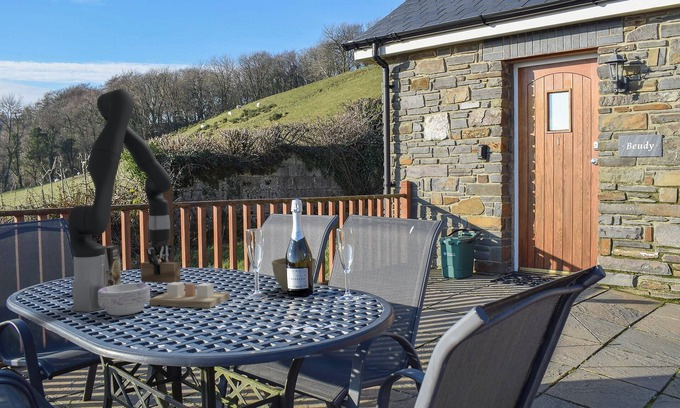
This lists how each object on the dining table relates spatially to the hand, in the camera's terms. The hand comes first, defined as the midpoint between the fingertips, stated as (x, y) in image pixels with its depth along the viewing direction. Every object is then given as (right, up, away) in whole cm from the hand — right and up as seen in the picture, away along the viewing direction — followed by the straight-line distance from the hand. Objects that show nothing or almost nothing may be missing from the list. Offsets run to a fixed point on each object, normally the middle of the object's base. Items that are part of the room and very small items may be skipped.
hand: (160, 273), depth 206 cm
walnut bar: (0, -3, 0) cm, 3 cm away
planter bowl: (+50, -6, -2) cm, 50 cm away
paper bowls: (-1, -8, -32) cm, 33 cm away
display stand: (+16, -7, -19) cm, 26 cm away
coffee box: (-22, -7, +6) cm, 23 cm away
